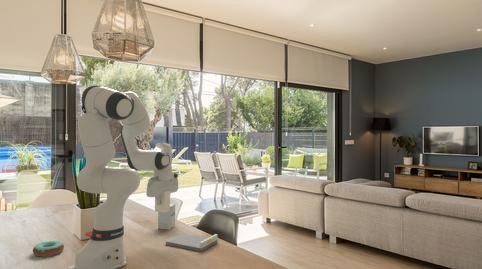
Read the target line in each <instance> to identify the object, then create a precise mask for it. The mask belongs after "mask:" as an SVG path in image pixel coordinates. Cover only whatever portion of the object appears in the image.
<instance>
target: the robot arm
mask: <svg viewBox="0 0 482 269" xmlns="http://www.w3.org/2000/svg"><path fill="white" fill-rule="evenodd" d="M81 111H82V112H83V113H84V114H82V115H81V116H79V118H78V120H77V130H78V136H79V140H80V144H81V147H82V150H83V153H84V157H85V164H84V167H83V168H82V169H81V170H79V172H78V173H77V176H76V177H77V178H76V184H77V187H78V189H79V190H80V191H83V192H85V193H90V194H105V195H107V196H106V200H105V201H103V202H102V203H100V204H98V205H97V206H96V207H95V209H94V211H93V228H92V231H89V230H86V231H85V233H84V236H85V237H89V240H88V241H87V242H86V243H85V244H84V245H83V246H82V247H81V248H80V249H79V251H77V253H76V255H75V257H74V258H75V259H74V264H72V265H70V266H69V267H68V269H118V268H121V267H124V266H126V265H127V263H128V262H127V259H128V258H127V255H126V250H125V243H124V234H125V228H124V226H125V225H124V224H123V222H124V208H125V204H126V202H127V200H128V198H129V197H130V196H132V194H133V193H135V192H136V191H137V190H138V188H139V187H140V184H141V177H140V174H139V172H140V171H153V176H151V177H150V178H149V179H148V181H147V185H146V193H145V194H146V197H148V198H154V200H155V199H156V201H157V205H160V204H161V201H160V199H159V198H160V195H163V192H164V191H170V194H173V193H177V192H178V190H179V179H178V178H179V173H177V172H174V171H173V166H172V162H173V150H172V145H171V144H170V143H168V142H167V143H166V142H157V143H155V146H154V148H153V149H140V148H139V147H138V146H137V142H136V138H137V137H140V136H142V135H143V134H145V133H146V132H147V131H148V130H149V128H150V124H151V119H150V115H149V113H148V111H147V108H146V106H145V105H144V103H143V101H142V100H141V98H140V97H139V95H138V94H137V93H135V92H133V91H124V92H123V91H118V90H116V89H113V88H111V87H106V86H101V85H90V86H88V87H86V88H85V89H84V90H83V92H82V95H81ZM110 119H111V120H114V121H115V120H116V121H121V122H122V123H121V124H122V126H121V127H120V138H121V141H122V144H123V148H124V151H125V155H126V162H127V166H128V167H125V166H124V167H123V166H122V167H121V166H109V165H108V163H110V162H112V160H113V159H114V158H115V156H116V154H117V153H116V152H117V151H116V148H115V144H114V140H113V136H112V133H111V130H110V126H109V125H110ZM138 171H139V172H138Z"/></svg>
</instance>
